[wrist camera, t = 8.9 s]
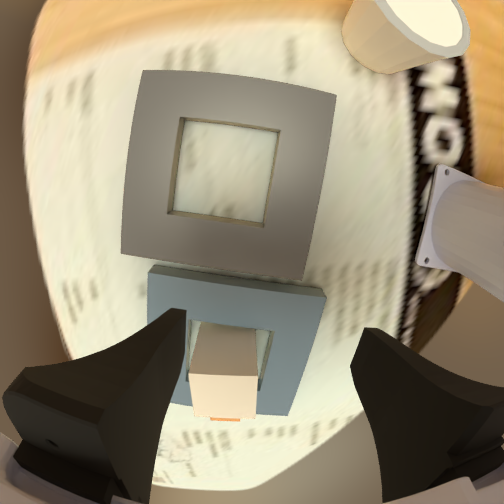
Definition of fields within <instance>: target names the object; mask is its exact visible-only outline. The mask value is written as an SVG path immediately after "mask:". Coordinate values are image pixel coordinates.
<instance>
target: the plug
mask: <svg viewBox="0 0 504 504" xmlns="http://www.w3.org/2000/svg"><path fill="white" fill-rule="evenodd" d="M188 375H189V382H190V390H191V397H192V404H193V410H194V416H198V417H210V418H211V420H217V421H240V419H255V416H256V400H257V384H258V368H257V350H256V333H255V329H253V328H245V327H237V326H230V325H223V324H216V323H209V322H201V324H200V328H199V332H198V336H197V340H196V344H195V348H194V352H193V356H192V360H191V364H190V368H189V373H188Z"/></svg>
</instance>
